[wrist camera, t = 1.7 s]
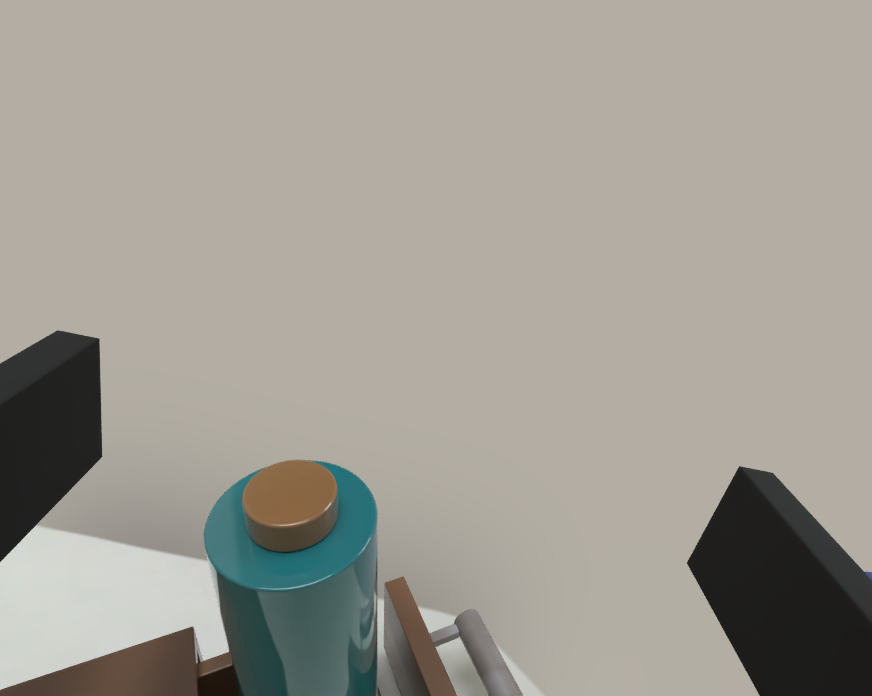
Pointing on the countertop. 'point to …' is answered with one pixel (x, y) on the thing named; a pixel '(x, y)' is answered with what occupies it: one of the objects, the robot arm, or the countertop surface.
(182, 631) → the cabinet
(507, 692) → the drawer
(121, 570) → the countertop surface
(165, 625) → the countertop surface
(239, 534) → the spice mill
